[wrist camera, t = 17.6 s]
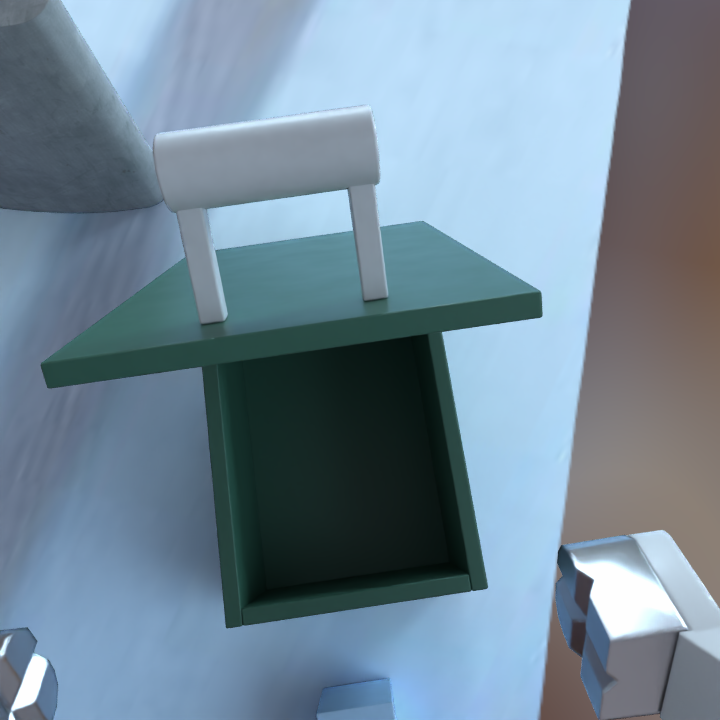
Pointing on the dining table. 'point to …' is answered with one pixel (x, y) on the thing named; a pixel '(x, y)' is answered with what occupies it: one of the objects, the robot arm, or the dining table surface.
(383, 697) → the block
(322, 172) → the bin lid
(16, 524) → the dining table surface
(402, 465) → the bin
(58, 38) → the hip flask
